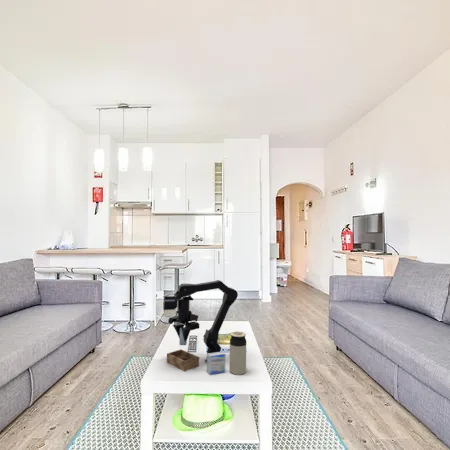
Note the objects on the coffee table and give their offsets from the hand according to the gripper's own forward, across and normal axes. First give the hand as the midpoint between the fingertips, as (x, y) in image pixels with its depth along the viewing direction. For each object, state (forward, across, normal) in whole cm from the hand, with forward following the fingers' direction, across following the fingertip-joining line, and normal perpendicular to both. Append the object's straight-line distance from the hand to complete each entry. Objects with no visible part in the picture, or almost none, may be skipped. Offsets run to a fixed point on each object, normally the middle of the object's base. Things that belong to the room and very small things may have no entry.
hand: (183, 340), depth 159 cm
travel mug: (+12, -25, -14) cm, 31 cm away
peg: (+2, 0, 0) cm, 2 cm away
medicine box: (+12, -18, -6) cm, 23 cm away
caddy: (+12, 0, 0) cm, 12 cm away
